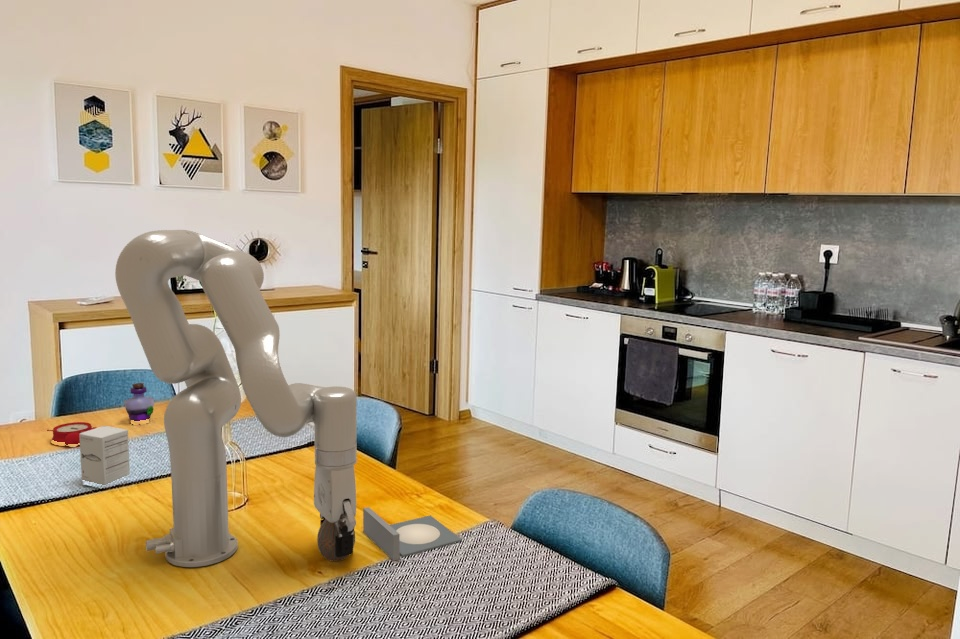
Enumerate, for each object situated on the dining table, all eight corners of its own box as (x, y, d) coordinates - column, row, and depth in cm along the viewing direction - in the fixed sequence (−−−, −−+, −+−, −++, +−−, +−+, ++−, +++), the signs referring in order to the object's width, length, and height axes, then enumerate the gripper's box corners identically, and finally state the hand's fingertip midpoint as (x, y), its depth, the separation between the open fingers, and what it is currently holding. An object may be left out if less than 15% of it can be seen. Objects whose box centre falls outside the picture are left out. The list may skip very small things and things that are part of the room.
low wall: (393, 561, 130) (393, 535, 129) (363, 531, 142) (363, 508, 141) (399, 559, 131) (399, 533, 130) (368, 530, 142) (368, 507, 142)
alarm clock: (78, 420, 200) (107, 417, 192) (82, 441, 200) (112, 439, 192) (40, 429, 191) (69, 426, 183) (44, 451, 192) (73, 449, 184)
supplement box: (80, 486, 162) (77, 433, 160) (108, 475, 168) (105, 424, 167) (104, 491, 159) (101, 437, 157) (131, 480, 166) (128, 428, 164)
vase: (346, 567, 127) (346, 521, 126) (311, 562, 129) (310, 517, 127) (360, 550, 134) (360, 506, 133) (326, 545, 135) (326, 502, 134)
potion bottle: (151, 426, 207) (149, 386, 205) (120, 427, 206) (117, 387, 204) (159, 418, 216) (157, 379, 214) (128, 419, 214) (126, 380, 212)
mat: (402, 557, 132) (402, 554, 132) (373, 530, 142) (373, 528, 142) (462, 541, 139) (462, 539, 139) (430, 517, 149) (430, 515, 149)
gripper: (300, 444, 134) (301, 533, 136) (333, 473, 119) (334, 572, 122) (337, 438, 138) (338, 525, 140) (374, 466, 123) (374, 561, 126)
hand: (336, 546), depth 131 cm, fingers closed on vase, 6 cm apart
